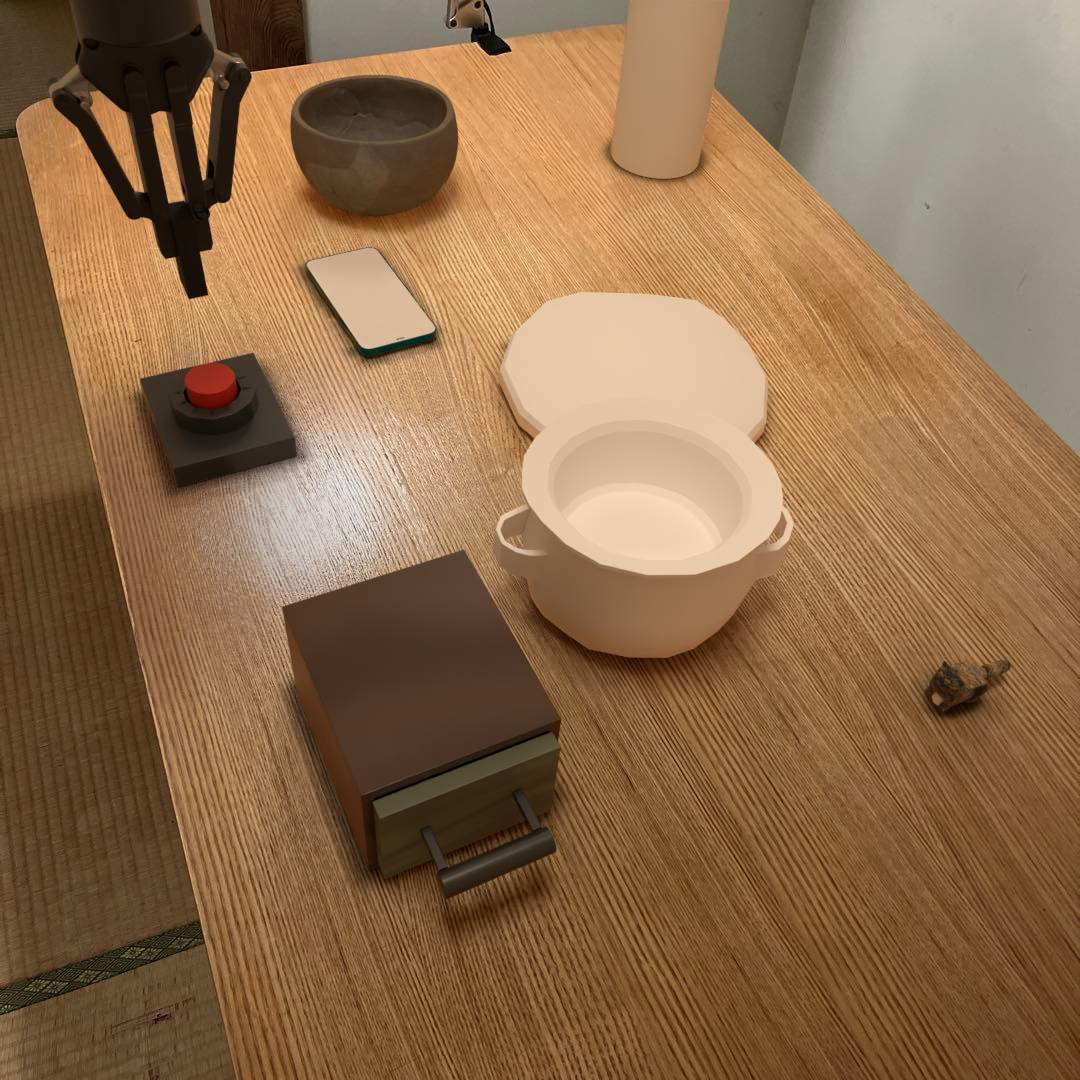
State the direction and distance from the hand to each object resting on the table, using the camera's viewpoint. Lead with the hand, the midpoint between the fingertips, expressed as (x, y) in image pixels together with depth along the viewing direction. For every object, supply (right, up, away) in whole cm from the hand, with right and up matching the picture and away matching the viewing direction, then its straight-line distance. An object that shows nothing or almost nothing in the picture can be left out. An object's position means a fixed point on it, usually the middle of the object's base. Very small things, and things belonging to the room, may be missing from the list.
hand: (194, 287), depth 82 cm
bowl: (+8, +19, +37) cm, 43 cm away
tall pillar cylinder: (+40, +27, +47) cm, 68 cm away
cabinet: (+18, -33, -9) cm, 39 cm away
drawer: (+20, -35, -12) cm, 42 cm away
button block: (-1, -10, +10) cm, 14 cm away
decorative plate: (+35, -6, +18) cm, 40 cm away
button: (-1, -7, +8) cm, 11 cm away
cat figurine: (+58, -31, -3) cm, 65 cm away
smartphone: (+10, +4, +24) cm, 26 cm away
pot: (+33, -23, +1) cm, 41 cm away
